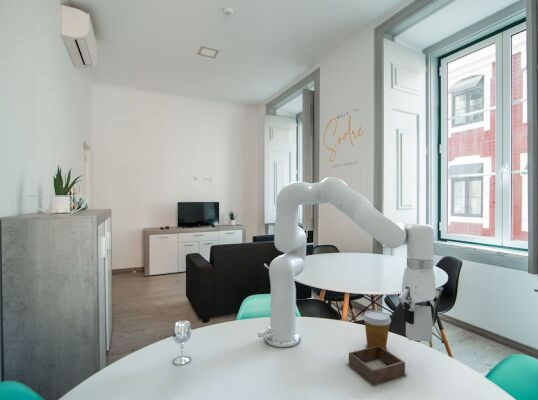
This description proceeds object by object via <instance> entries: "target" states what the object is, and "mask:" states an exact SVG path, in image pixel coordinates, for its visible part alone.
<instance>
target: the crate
mask: <svg viewBox="0 0 538 400" xmlns="http://www.w3.org/2000/svg"><path fill="white" fill-rule="evenodd" d="M375 360H380V361H381V362H382V363H384V364H385V365H384V366H380V367H377V368H372V367H371V366H369V365H368V364H367V362H371V361H375ZM348 367H350V368H352V369H353V371H355V372H356V373H357V374H359V375H360V376H361V377H362V378H364V379H365V380H366V381H367V382H369V383H370V384H371V385H372V386H375V385H378V384H382V383H385V382H387V381H391V380H394V379H399V378H401V377H404V376H406V361H404V360H403V359H401V358H400V357H398V356H397V355H394V353H392V352H390V351H388V350H387V349H386V350H385V349H384V348H382V347H380V346H374V347H370V348H368V347H366V348H362V349H359V350H353V351H350V352H348Z"/></svg>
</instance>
